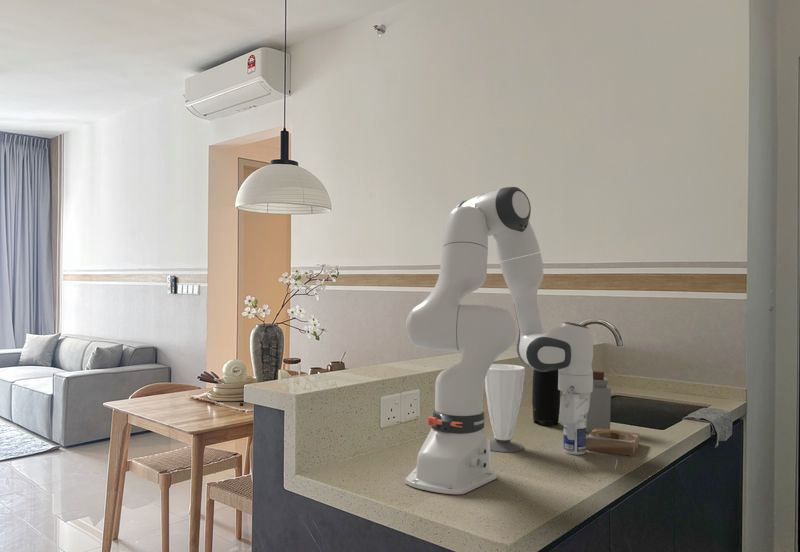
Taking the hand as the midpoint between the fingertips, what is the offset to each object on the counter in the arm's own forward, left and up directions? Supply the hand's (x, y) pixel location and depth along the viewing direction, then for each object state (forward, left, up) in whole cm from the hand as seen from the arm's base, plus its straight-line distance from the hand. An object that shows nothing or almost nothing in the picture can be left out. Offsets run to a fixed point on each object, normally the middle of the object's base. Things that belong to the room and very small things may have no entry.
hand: (574, 436), depth 159 cm
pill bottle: (0, 0, -4) cm, 4 cm away
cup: (-5, +18, -4) cm, 19 cm away
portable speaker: (+29, +15, -4) cm, 33 cm away
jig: (+11, -8, -4) cm, 14 cm away
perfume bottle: (+28, -1, -4) cm, 28 cm away
